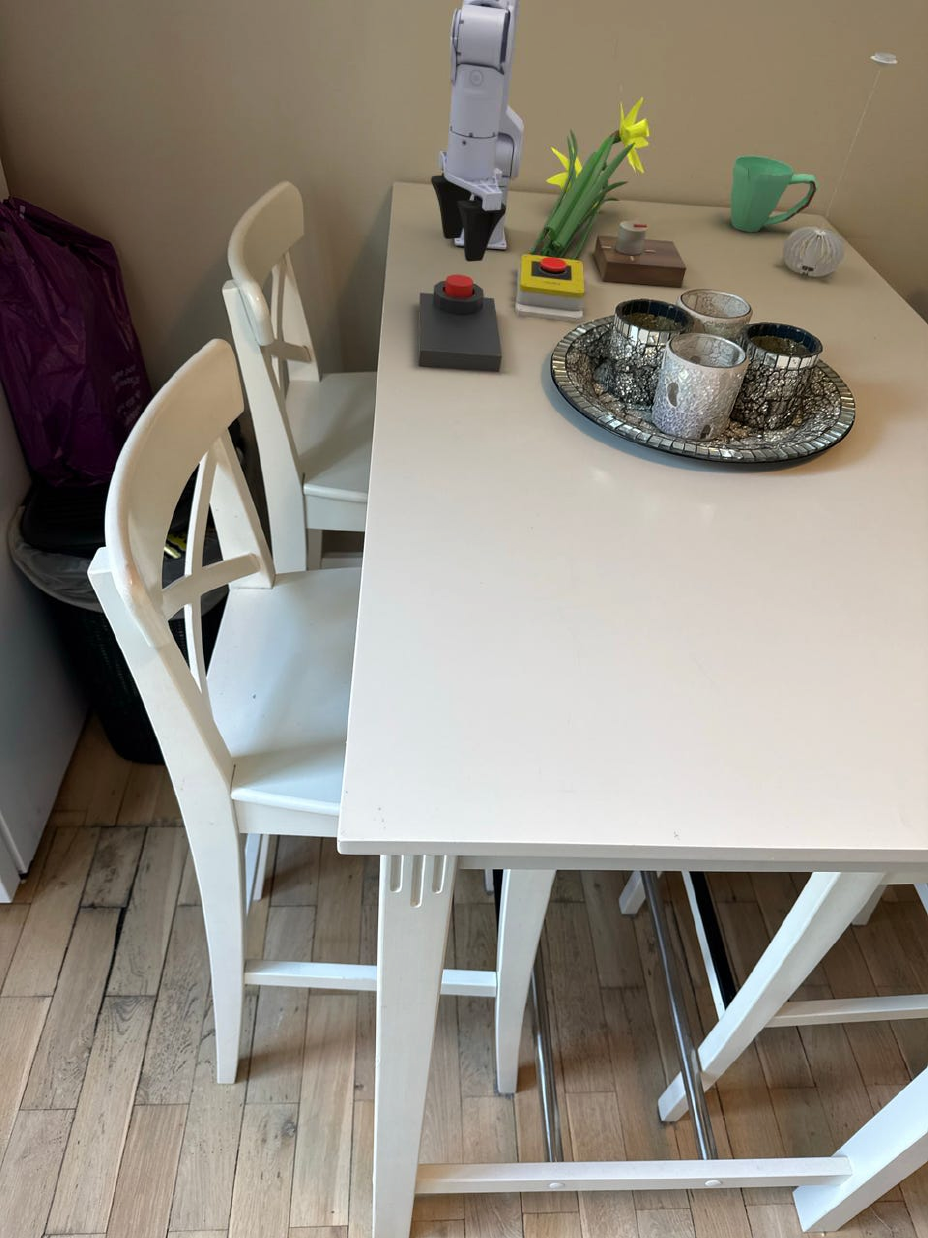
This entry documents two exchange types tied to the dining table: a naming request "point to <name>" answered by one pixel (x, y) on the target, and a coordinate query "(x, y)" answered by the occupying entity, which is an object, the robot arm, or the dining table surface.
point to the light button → (459, 286)
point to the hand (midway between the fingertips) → (462, 248)
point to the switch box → (458, 331)
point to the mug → (763, 192)
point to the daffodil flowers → (588, 185)
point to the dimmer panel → (640, 263)
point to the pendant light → (825, 235)
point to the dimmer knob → (631, 237)
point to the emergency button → (550, 288)
